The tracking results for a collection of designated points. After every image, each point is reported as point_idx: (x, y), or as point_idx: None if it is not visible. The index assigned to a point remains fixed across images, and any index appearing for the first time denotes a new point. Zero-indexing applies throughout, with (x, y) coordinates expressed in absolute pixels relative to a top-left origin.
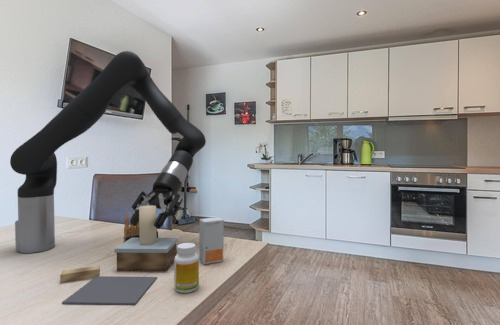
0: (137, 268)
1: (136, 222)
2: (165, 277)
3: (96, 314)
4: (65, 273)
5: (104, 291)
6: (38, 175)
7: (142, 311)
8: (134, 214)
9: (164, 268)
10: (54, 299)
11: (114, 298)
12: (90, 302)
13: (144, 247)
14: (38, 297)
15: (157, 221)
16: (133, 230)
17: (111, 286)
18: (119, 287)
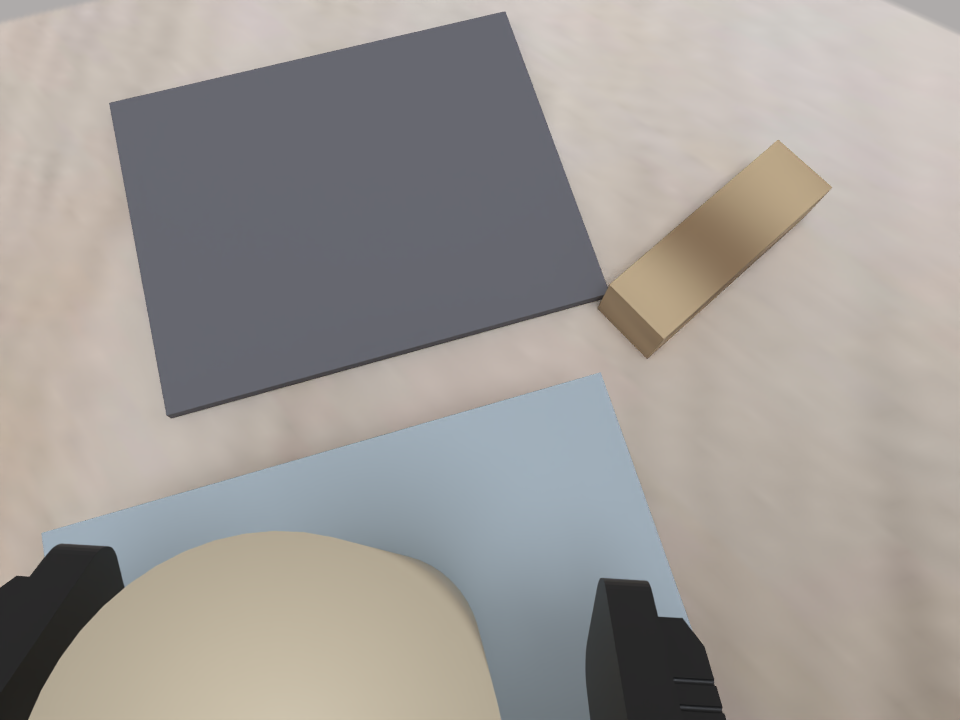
0: None
1: (592, 689)
2: (117, 454)
3: (256, 3)
4: (765, 163)
5: (378, 151)
6: None
7: (42, 77)
8: (673, 713)
9: None
10: (590, 41)
11: (258, 108)
12: (357, 47)
13: (320, 498)
14: (693, 33)
15: (25, 590)
16: None
17: (383, 207)
18: (325, 213)
